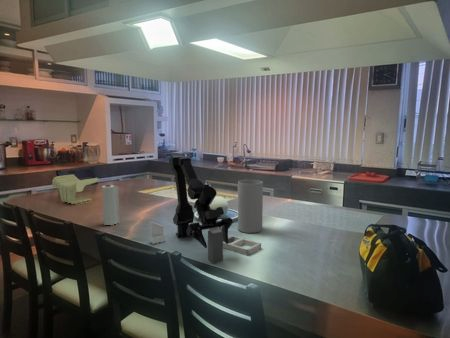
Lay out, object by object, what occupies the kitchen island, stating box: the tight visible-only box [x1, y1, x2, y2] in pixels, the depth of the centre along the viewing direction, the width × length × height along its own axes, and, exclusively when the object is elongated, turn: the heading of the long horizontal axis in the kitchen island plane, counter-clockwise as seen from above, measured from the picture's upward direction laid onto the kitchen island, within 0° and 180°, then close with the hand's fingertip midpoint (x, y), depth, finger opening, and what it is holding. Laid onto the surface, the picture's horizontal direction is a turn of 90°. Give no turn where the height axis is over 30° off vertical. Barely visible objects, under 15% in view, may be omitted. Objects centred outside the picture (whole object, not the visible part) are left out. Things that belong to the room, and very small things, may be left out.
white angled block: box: [149, 220, 166, 245], centre depth 144 cm, size 4×10×9 cm, turn 126°
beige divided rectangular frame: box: [223, 233, 262, 256], centre depth 138 cm, size 20×10×3 cm, turn 51°
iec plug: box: [207, 227, 224, 265], centre depth 123 cm, size 4×4×13 cm
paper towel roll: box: [101, 184, 121, 226], centre depth 168 cm, size 7×6×21 cm
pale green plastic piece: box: [52, 173, 99, 205], centre depth 220 cm, size 30×16×18 cm, turn 56°
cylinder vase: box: [237, 179, 264, 234], centre depth 159 cm, size 12×12×25 cm
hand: (217, 245), depth 121 cm, fingers open, 9 cm apart
